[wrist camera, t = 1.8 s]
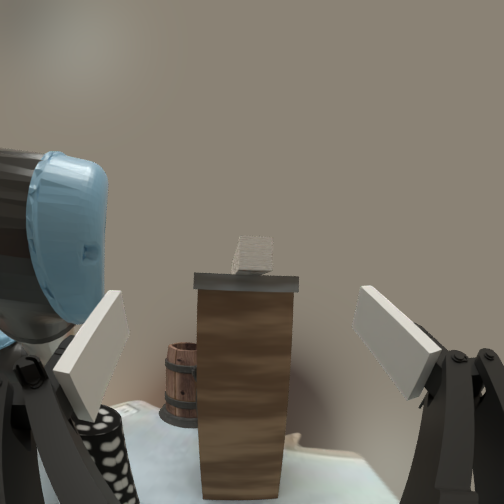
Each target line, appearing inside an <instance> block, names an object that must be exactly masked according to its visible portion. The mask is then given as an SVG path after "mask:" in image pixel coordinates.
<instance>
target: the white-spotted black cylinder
mask: <svg viewBox="0 0 504 504" xmlns="http://www.w3.org/2000/svg"><path fill="white" fill-rule="evenodd" d="M71 419H72V420H73V422H74V424H75V426H76V428H77V431H78V433H79V435H80V437H81V439H82V441H83V443H84V445H85V447H86V448H87V450H88V452H89V454H90V456H91V458H92V459H93V461H94V463H95V465H96V466H97V468H98V470H99V471H100V473H101V475H102V476H103V478H104V479H105V481H106V483H107V484H108V486H109V487H110V489H111V490H112V492H113V493H114V494H115V496H116V497H117V499H118V500H119V501H120V503H121V504H140V502H139V498H138V495H137V491H136V488H135V484H134V480H133V476H132V472H131V468H130V463H129V459H128V454H127V449H126V444H125V438H124V432H123V426H122V419H121V416H120V414H119V413H118V412H117V411H116V410H114V409H112V408H110V407H108V406H105V405H100V408H99V411H98V414H97V416H96V419H95V422H89V421H85V420H80V419H78V417H77V416H76V414H75V412H74V410H73V412H72V415H71Z"/></svg>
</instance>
